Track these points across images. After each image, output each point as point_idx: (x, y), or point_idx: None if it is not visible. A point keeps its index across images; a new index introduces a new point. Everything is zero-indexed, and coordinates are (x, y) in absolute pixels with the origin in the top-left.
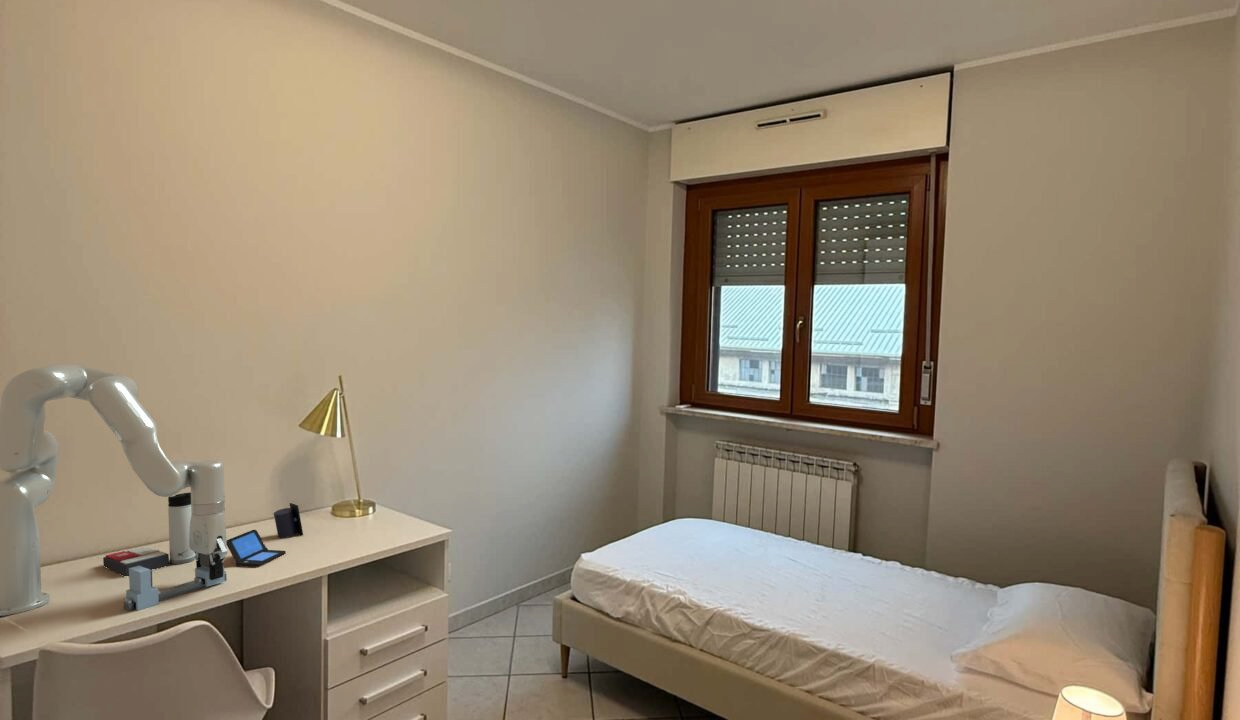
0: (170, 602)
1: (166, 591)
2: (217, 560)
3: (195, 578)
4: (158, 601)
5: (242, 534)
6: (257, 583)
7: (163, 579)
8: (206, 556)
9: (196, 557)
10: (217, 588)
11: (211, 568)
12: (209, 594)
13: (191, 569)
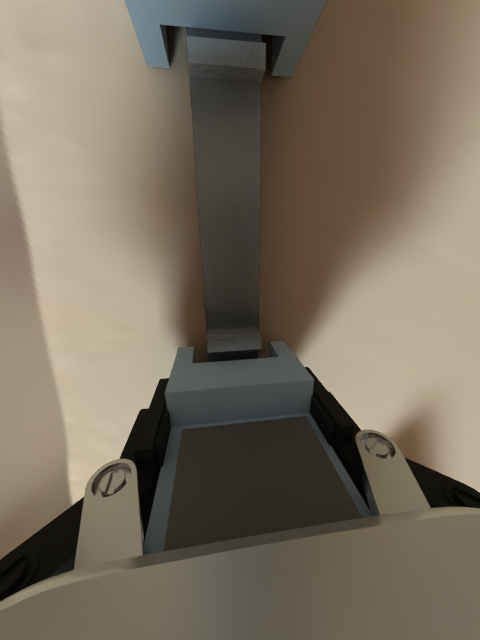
0: (136, 140)
1: (203, 133)
2: (36, 536)
3: (247, 337)
4: (143, 52)
5: None
6: (79, 480)
7: (471, 290)
8: (216, 516)
9: (381, 448)
10: (154, 372)
11: (144, 432)
12: (98, 320)
13: (457, 397)
